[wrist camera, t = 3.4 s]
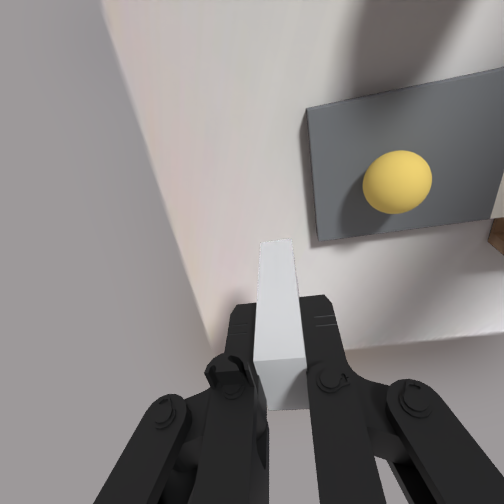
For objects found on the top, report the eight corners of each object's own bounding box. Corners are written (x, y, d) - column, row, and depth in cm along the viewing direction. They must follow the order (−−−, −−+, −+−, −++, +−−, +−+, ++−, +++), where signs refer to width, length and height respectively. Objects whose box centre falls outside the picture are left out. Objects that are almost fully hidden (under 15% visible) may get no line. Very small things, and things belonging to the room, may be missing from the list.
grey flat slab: (306, 108, 19) (308, 110, 18) (543, 58, 17) (559, 58, 16) (316, 234, 25) (318, 241, 24) (497, 209, 22) (507, 216, 21)
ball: (356, 149, 19) (373, 168, 16) (419, 138, 19) (450, 154, 15) (356, 202, 21) (371, 228, 18) (412, 194, 21) (438, 220, 17)
